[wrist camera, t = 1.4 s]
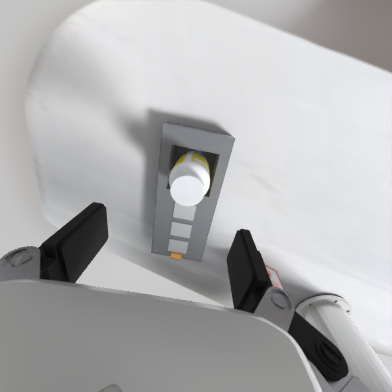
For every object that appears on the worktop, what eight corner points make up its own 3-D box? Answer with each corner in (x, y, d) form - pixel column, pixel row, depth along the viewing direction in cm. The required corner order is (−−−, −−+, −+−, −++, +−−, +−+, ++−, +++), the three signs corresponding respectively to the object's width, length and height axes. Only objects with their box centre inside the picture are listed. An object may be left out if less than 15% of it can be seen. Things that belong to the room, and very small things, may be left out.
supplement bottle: (178, 182, 29) (166, 211, 20) (175, 151, 26) (160, 168, 18) (209, 181, 28) (210, 211, 20) (209, 150, 26) (210, 167, 17)
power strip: (200, 250, 36) (200, 264, 32) (155, 242, 35) (150, 255, 32) (232, 135, 25) (235, 138, 22) (167, 122, 25) (161, 123, 21)
